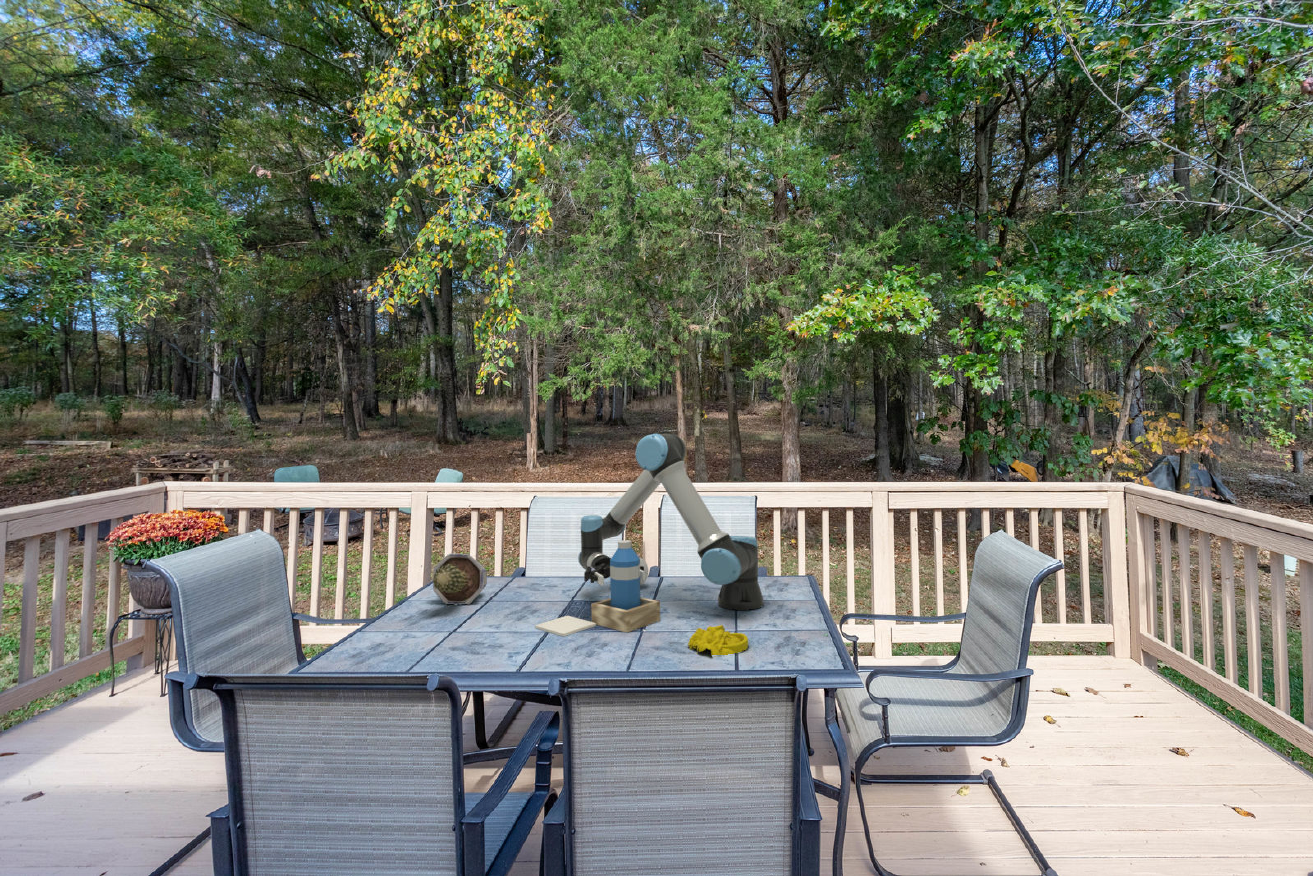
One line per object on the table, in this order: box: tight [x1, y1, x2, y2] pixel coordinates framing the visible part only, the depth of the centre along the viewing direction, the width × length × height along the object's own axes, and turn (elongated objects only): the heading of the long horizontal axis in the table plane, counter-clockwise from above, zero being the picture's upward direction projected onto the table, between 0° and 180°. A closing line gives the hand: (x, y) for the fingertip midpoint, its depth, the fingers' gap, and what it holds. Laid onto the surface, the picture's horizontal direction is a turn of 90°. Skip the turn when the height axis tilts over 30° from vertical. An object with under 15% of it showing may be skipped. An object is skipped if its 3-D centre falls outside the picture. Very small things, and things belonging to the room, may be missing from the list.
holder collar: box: [590, 596, 661, 633], centre depth 203 cm, size 15×15×6 cm
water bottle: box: [609, 539, 641, 610], centre depth 202 cm, size 9×9×25 cm
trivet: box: [534, 615, 597, 637], centre depth 198 cm, size 13×13×1 cm
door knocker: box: [687, 624, 749, 657], centre depth 180 cm, size 17×16×4 cm
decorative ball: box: [638, 556, 649, 587], centre depth 246 cm, size 12×12×12 cm
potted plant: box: [432, 553, 488, 605], centre depth 224 cm, size 18×18×30 cm
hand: (623, 578), depth 203 cm, fingers open, 13 cm apart
